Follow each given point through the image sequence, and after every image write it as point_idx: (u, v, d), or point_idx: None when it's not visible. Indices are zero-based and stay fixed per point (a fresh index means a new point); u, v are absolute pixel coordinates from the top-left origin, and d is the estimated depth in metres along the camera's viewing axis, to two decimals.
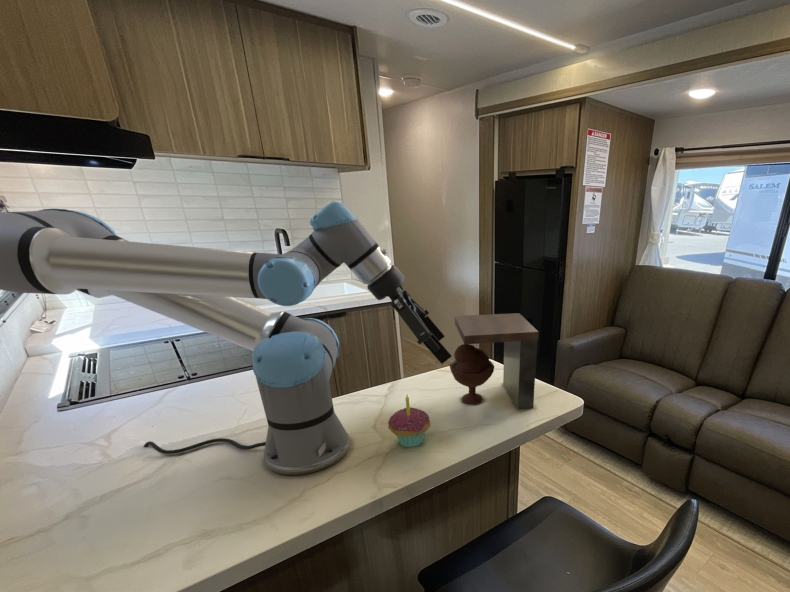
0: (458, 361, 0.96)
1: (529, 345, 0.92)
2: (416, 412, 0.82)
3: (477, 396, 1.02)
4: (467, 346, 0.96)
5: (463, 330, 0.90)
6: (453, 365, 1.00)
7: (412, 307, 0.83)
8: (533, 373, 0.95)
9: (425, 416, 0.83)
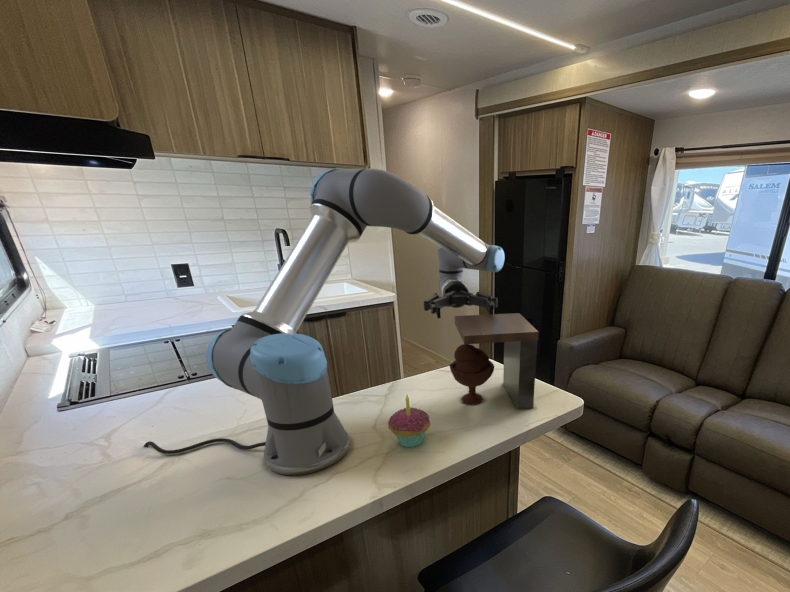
0: (458, 361, 0.96)
1: (529, 345, 0.92)
2: (416, 412, 0.82)
3: (477, 396, 1.02)
4: (467, 346, 0.96)
5: (463, 330, 0.90)
6: (453, 365, 1.00)
7: None
8: (533, 373, 0.95)
9: (425, 416, 0.83)
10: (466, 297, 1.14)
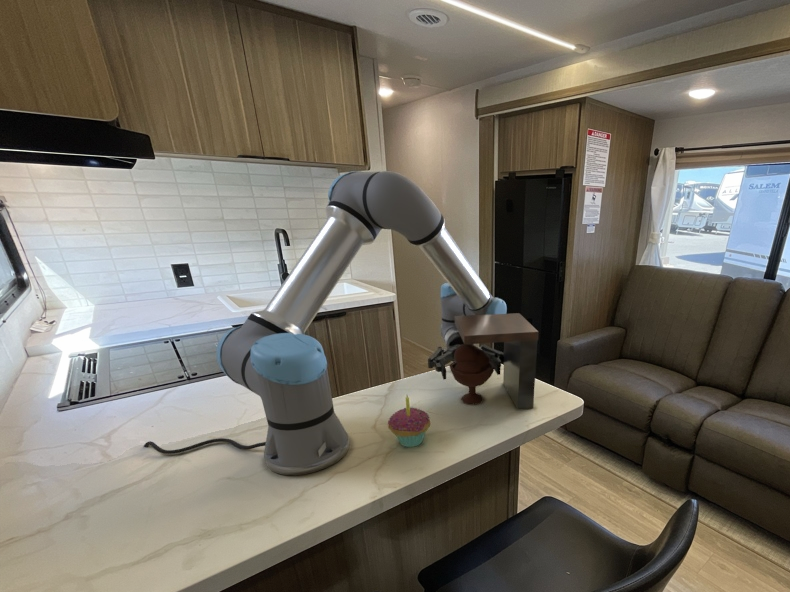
0: (458, 361, 0.96)
1: (529, 345, 0.92)
2: (416, 412, 0.82)
3: (477, 396, 1.02)
4: (467, 346, 0.96)
5: (463, 330, 0.90)
6: (453, 365, 1.00)
7: None
8: (533, 373, 0.95)
9: (425, 416, 0.83)
10: None
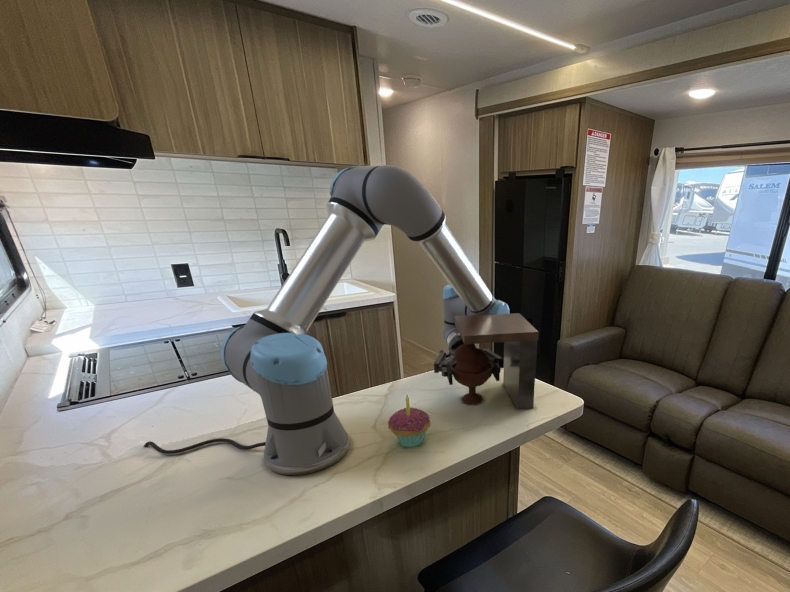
0: (458, 361, 0.96)
1: (529, 345, 0.92)
2: (416, 412, 0.82)
3: (477, 396, 1.02)
4: (467, 346, 0.96)
5: (463, 330, 0.90)
6: (453, 365, 1.00)
7: None
8: (533, 373, 0.95)
9: (425, 416, 0.83)
10: None
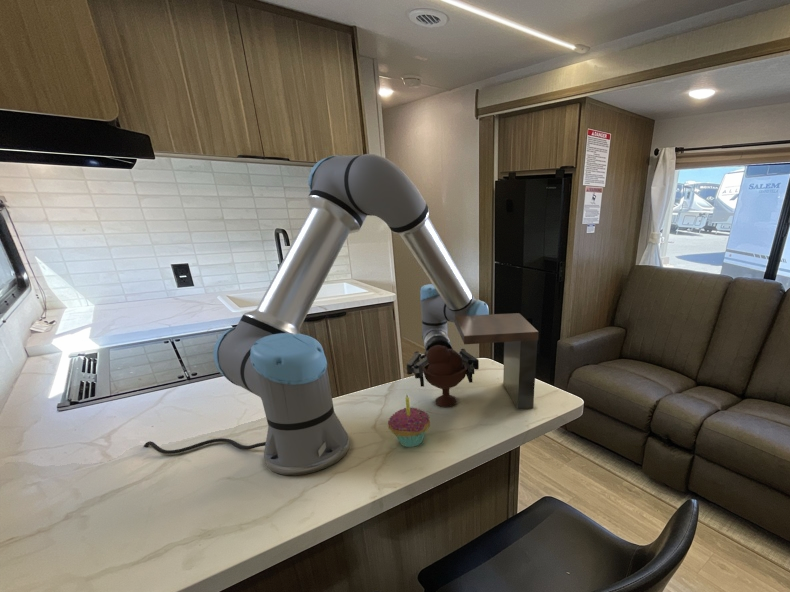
0: (430, 362, 0.95)
1: (529, 345, 0.92)
2: (416, 412, 0.82)
3: (451, 398, 1.00)
4: (439, 347, 0.94)
5: (463, 330, 0.90)
6: (426, 366, 0.98)
7: None
8: (533, 373, 0.95)
9: (425, 416, 0.83)
10: None
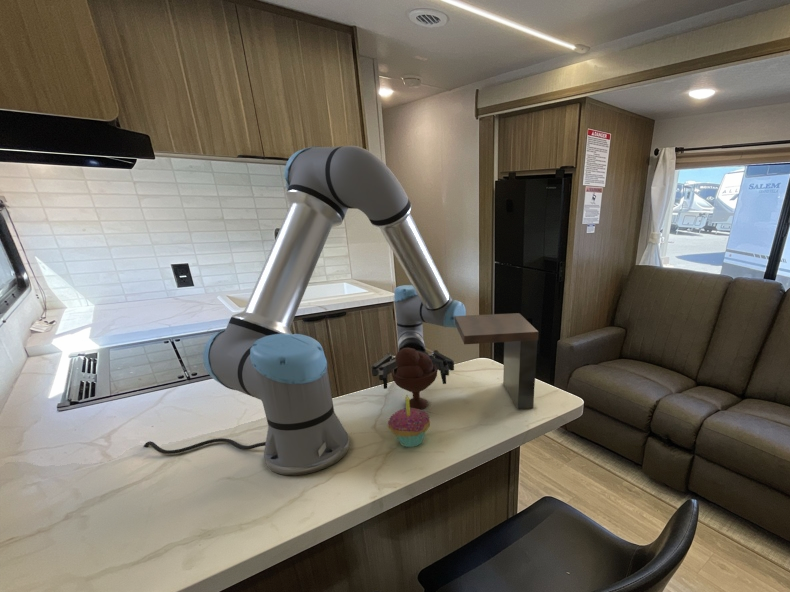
0: (398, 365, 0.93)
1: (529, 345, 0.92)
2: (416, 412, 0.82)
3: (421, 401, 0.99)
4: (407, 350, 0.93)
5: (463, 330, 0.90)
6: (395, 369, 0.97)
7: None
8: (533, 373, 0.95)
9: (425, 416, 0.83)
10: None
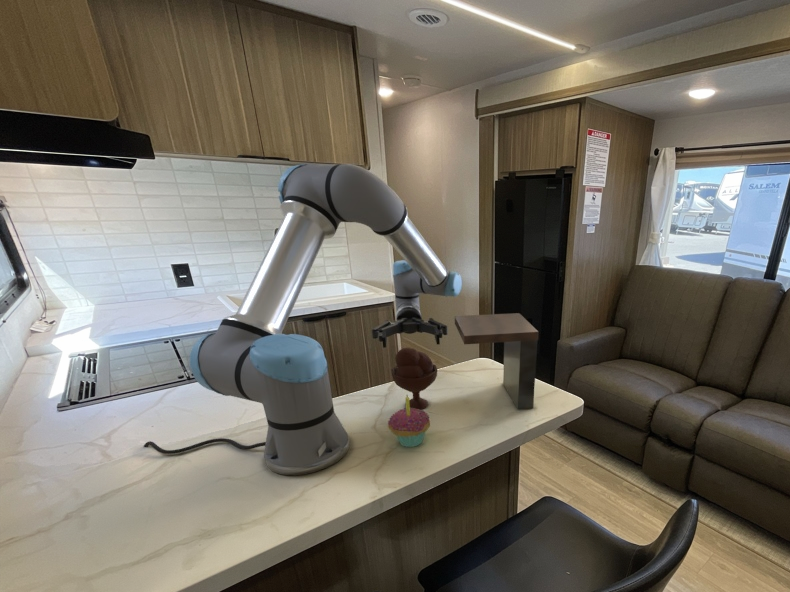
0: (398, 365, 0.93)
1: (529, 345, 0.92)
2: (416, 412, 0.82)
3: (421, 401, 0.99)
4: (407, 350, 0.93)
5: (463, 330, 0.90)
6: (395, 369, 0.97)
7: None
8: (533, 373, 0.95)
9: (425, 416, 0.83)
10: (417, 324, 1.14)
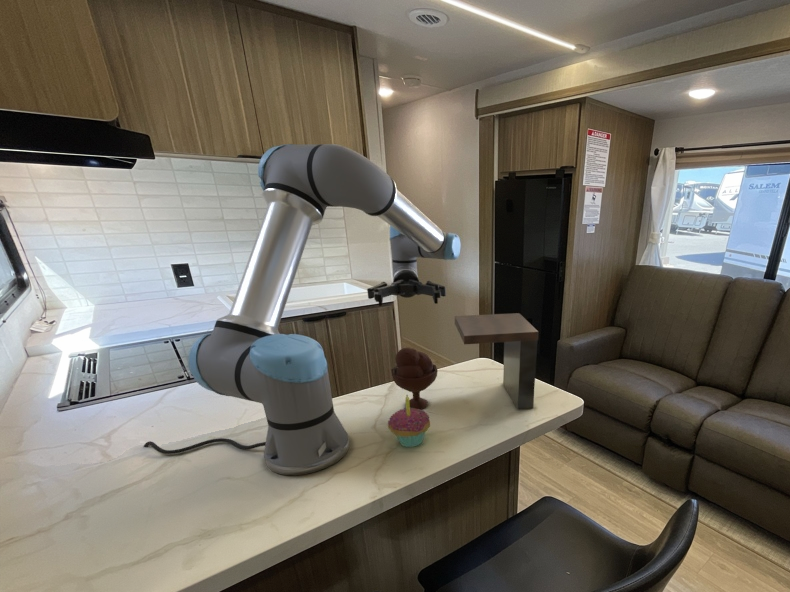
0: (398, 365, 0.93)
1: (529, 345, 0.92)
2: (416, 412, 0.82)
3: (421, 401, 0.99)
4: (407, 350, 0.93)
5: (463, 330, 0.90)
6: (395, 369, 0.97)
7: None
8: (533, 373, 0.95)
9: (425, 416, 0.83)
10: (414, 286, 1.11)
